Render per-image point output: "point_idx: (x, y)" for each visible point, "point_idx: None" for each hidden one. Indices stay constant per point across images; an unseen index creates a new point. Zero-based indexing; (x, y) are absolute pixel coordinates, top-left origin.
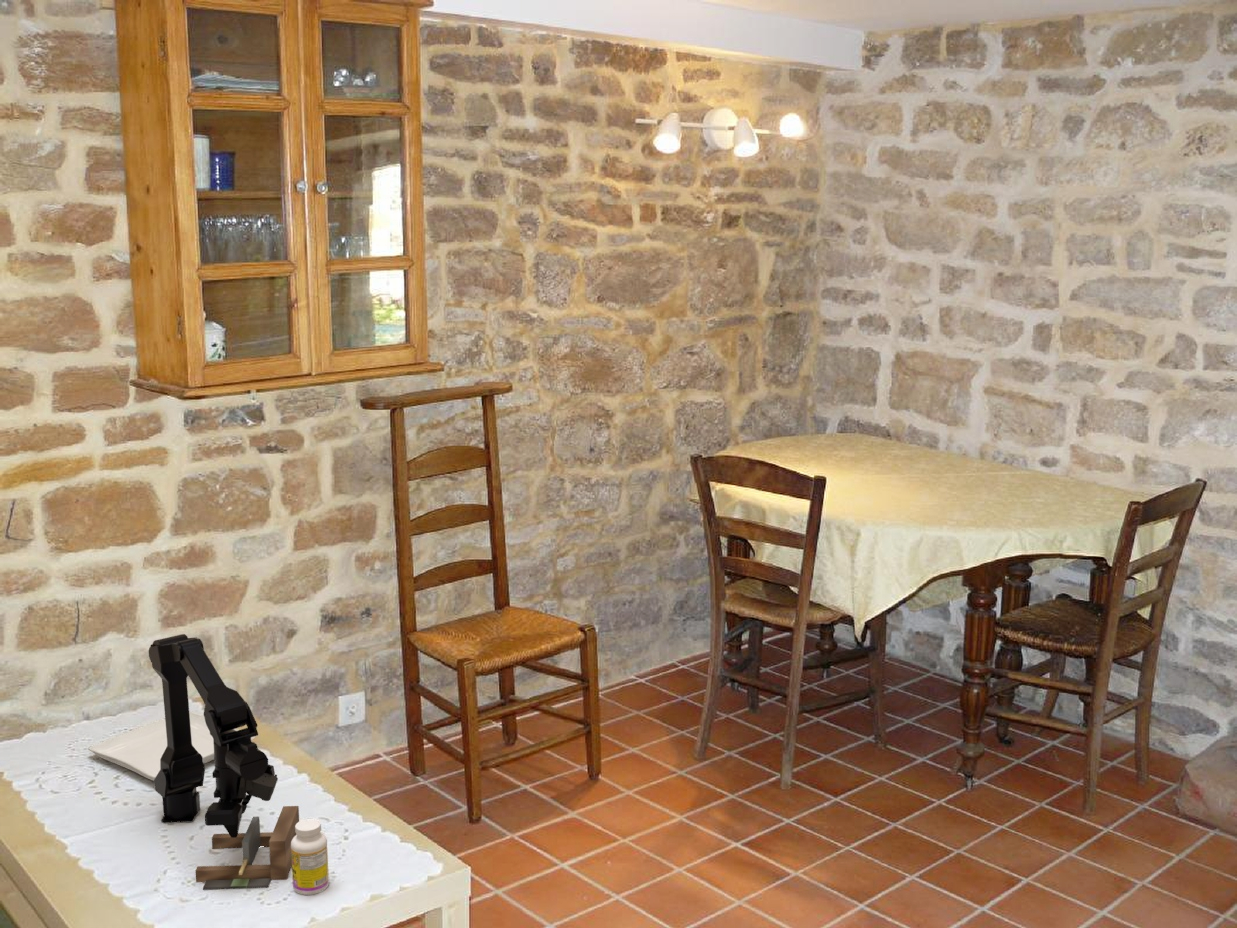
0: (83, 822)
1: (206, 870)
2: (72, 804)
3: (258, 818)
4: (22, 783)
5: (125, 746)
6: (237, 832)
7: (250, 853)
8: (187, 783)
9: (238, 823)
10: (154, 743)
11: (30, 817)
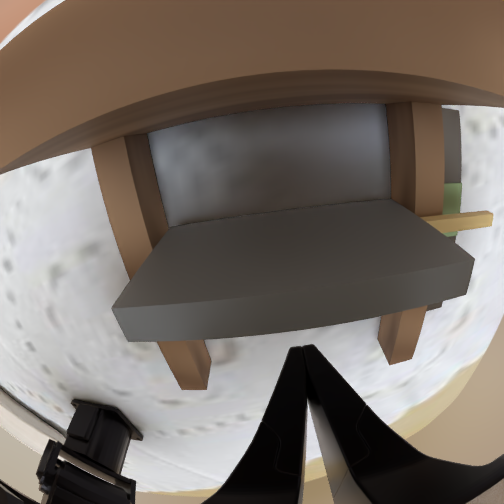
0: (182, 477)
1: (419, 334)
2: (149, 479)
3: (134, 305)
4: (136, 489)
5: (42, 445)
6: (320, 359)
7: (396, 222)
8: (95, 484)
9: (349, 405)
10: (20, 426)
11: (189, 492)
